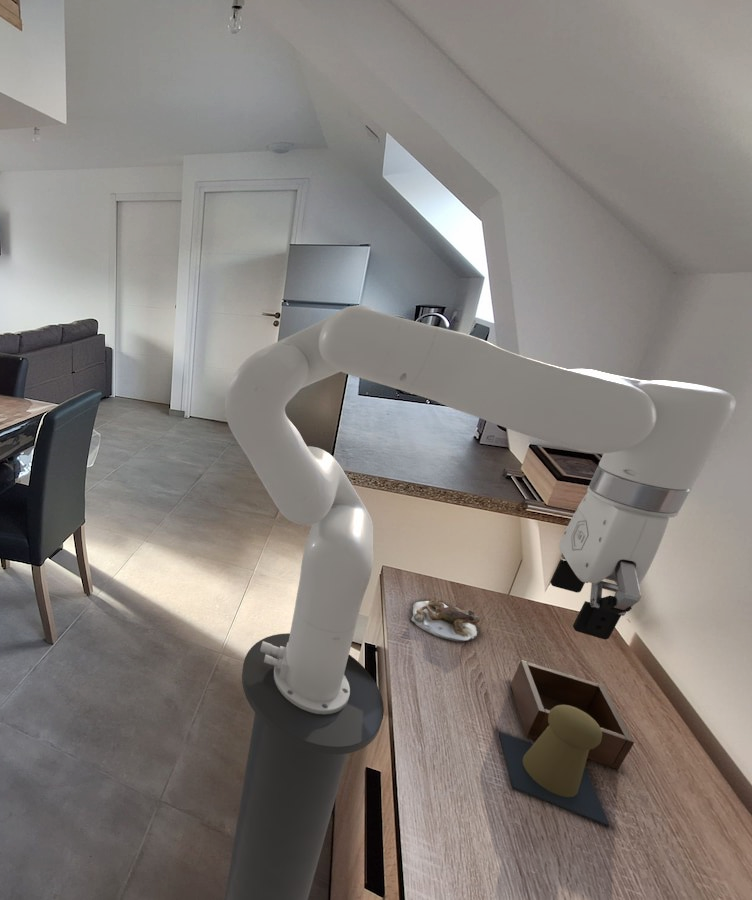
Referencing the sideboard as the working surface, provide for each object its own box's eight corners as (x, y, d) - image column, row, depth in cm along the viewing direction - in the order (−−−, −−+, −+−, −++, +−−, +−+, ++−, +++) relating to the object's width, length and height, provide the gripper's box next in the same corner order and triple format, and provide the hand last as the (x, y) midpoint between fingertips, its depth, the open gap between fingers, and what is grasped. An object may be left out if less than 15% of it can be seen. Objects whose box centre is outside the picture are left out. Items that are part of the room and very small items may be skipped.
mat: (512, 788, 61) (513, 786, 61) (498, 732, 69) (499, 731, 68) (608, 826, 57) (609, 825, 57) (582, 763, 65) (583, 761, 64)
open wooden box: (526, 736, 68) (538, 710, 66) (510, 684, 77) (520, 659, 75) (618, 769, 64) (634, 742, 62) (590, 710, 73) (603, 685, 71)
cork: (587, 804, 59) (621, 746, 55) (532, 786, 61) (561, 729, 57) (566, 761, 64) (596, 705, 60) (515, 746, 66) (541, 690, 62)
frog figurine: (476, 615, 93) (482, 600, 92) (478, 652, 84) (484, 636, 82) (414, 594, 99) (418, 579, 97) (409, 626, 89) (414, 611, 88)
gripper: (570, 459, 61) (524, 565, 67) (623, 512, 46) (559, 642, 52) (644, 472, 57) (589, 582, 64) (727, 534, 43) (645, 669, 49)
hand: (576, 609), depth 58 cm, fingers open, 9 cm apart
